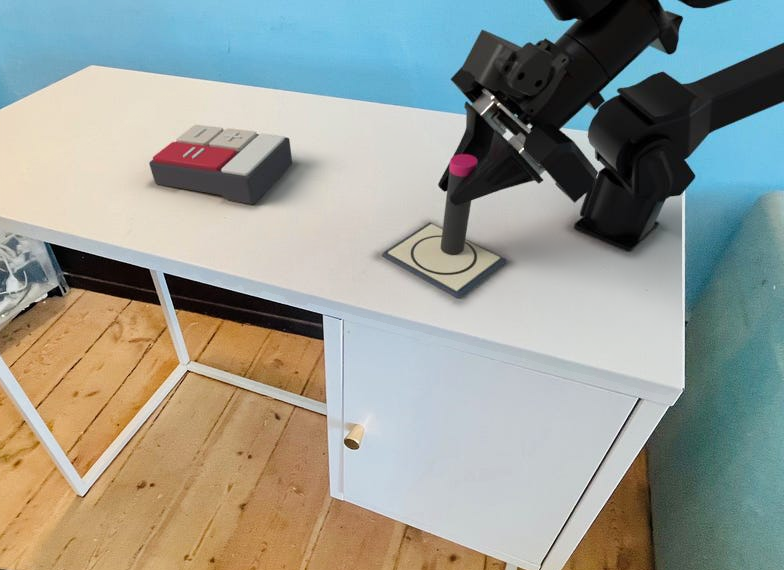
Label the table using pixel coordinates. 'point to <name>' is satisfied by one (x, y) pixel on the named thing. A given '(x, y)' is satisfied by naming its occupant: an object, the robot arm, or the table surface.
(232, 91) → the table surface
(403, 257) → the coaster
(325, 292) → the table surface
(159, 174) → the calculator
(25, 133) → the table surface
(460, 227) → the dot marker
